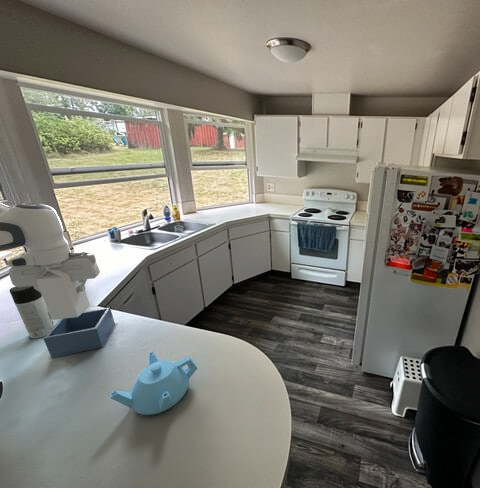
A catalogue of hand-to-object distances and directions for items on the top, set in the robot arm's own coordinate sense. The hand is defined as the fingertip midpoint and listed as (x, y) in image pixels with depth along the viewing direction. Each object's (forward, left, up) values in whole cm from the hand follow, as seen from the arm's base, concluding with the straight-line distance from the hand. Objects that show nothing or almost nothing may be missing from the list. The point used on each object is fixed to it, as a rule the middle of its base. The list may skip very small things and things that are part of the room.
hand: (64, 293), depth 83 cm
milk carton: (0, 0, -8) cm, 8 cm away
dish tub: (0, +2, -21) cm, 21 cm away
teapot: (+29, -34, -21) cm, 50 cm away
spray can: (-16, +12, -21) cm, 28 cm away
